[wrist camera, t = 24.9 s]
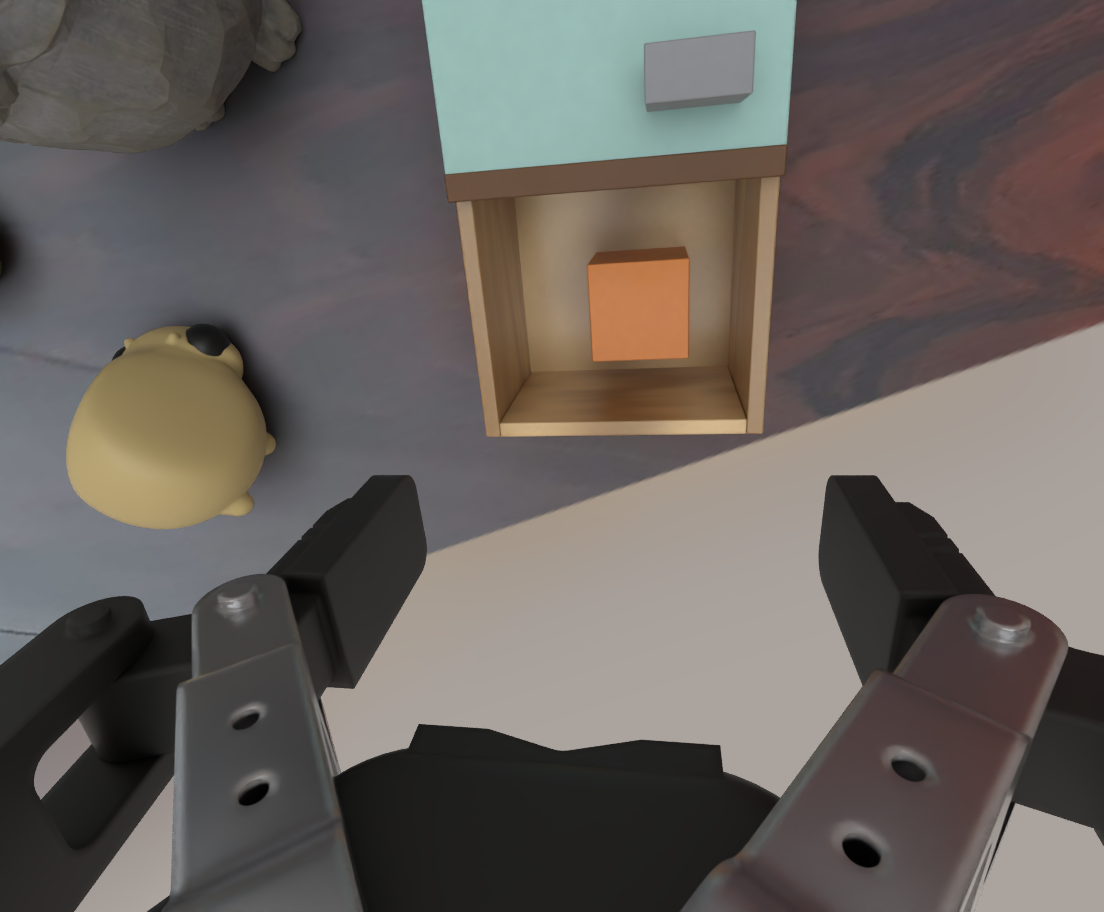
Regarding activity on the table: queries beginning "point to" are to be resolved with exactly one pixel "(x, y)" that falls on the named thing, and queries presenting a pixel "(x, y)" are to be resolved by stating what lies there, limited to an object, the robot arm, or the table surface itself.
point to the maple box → (564, 319)
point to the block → (639, 304)
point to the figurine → (130, 67)
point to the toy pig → (169, 431)
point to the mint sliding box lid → (608, 93)
